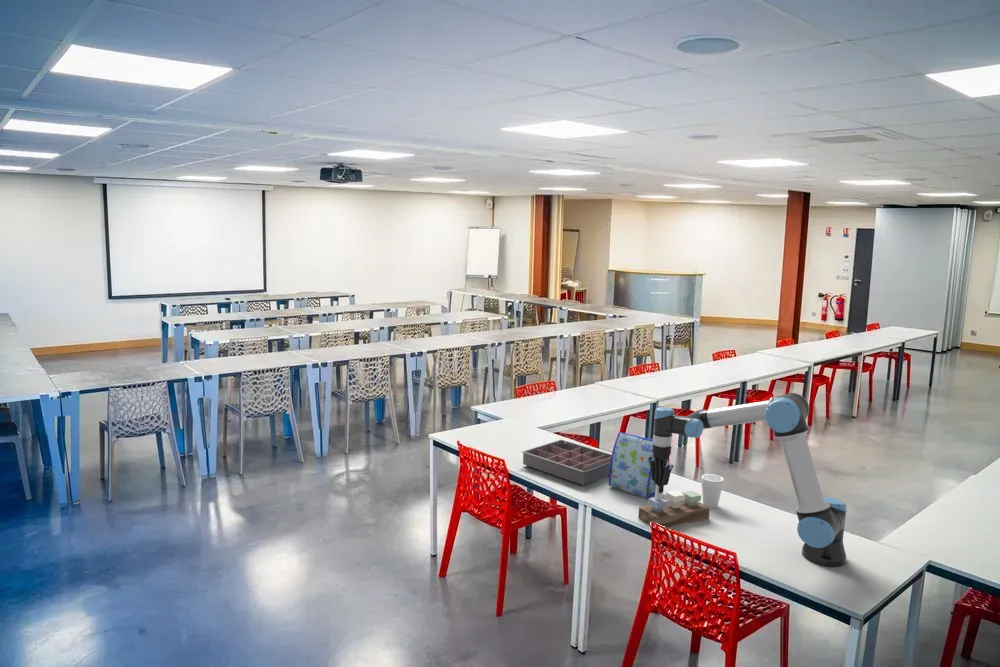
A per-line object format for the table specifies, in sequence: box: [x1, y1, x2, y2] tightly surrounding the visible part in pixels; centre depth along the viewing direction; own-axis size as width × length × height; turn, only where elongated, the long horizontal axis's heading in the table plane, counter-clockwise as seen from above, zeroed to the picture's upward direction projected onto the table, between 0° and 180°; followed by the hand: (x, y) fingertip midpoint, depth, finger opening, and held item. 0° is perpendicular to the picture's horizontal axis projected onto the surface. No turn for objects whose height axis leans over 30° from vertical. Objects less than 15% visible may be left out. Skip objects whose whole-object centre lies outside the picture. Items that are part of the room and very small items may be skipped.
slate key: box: [648, 496, 669, 513], centre depth 284 cm, size 6×6×6 cm
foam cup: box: [700, 473, 725, 509], centre depth 303 cm, size 10×9×13 cm
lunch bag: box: [608, 431, 655, 500], centre depth 319 cm, size 22×17×26 cm
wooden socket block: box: [637, 500, 711, 528], centre depth 289 cm, size 12×28×5 cm, turn 116°
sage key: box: [681, 490, 702, 507], centre depth 292 cm, size 6×6×6 cm
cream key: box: [665, 489, 685, 509], centre depth 288 cm, size 6×6×6 cm
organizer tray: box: [521, 439, 612, 486], centre depth 345 cm, size 32×40×10 cm
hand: (658, 499), depth 284 cm, fingers closed
